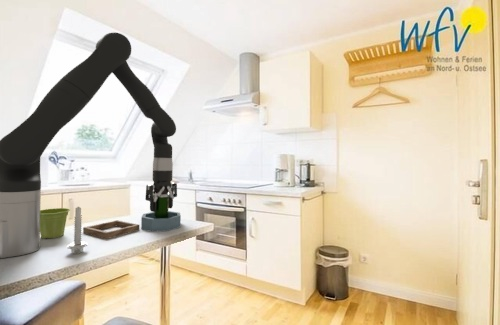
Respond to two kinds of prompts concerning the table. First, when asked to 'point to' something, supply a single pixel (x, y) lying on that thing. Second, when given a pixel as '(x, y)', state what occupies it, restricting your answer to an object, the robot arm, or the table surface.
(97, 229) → the walnut frame
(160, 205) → the beer can
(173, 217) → the slate bowl
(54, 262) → the table surface
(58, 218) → the plant pot
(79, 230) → the screw
